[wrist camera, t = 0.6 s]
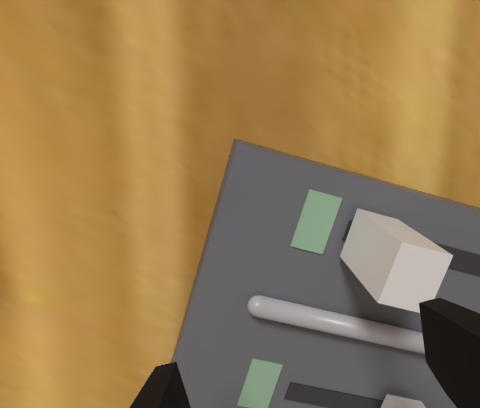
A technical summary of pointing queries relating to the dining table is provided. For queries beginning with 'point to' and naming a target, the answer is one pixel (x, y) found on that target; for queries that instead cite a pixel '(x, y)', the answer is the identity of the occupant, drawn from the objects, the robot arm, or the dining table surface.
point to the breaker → (394, 260)
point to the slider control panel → (311, 290)
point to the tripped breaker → (401, 402)
